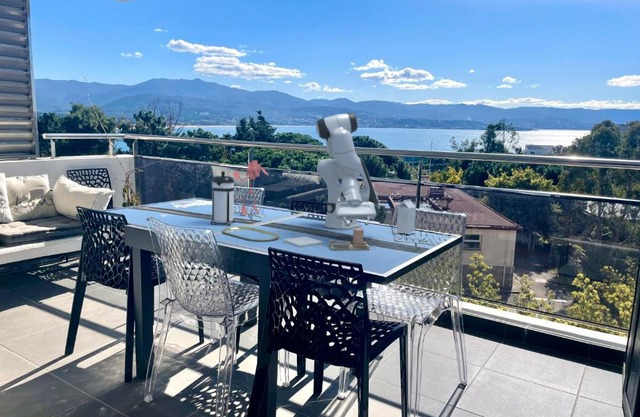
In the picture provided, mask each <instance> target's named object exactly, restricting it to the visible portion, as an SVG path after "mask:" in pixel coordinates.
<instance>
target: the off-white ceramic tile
mask: <svg viewBox="0 0 640 417" xmlns="http://www.w3.org/2000/svg"><path fill="white" fill-rule="evenodd" d="M282 241H283V242H284V243H286V244H290V245H293V246H296V247H298V248H304V247H309V246H310V247H311V246H317V245H323V244H324V241H322V240H318V239H315V238H312V237H309V236H300V237H292V238H285V239H282Z"/></svg>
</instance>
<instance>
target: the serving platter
mask: <svg viewBox="0 0 640 417" xmlns="http://www.w3.org/2000/svg"><path fill="white" fill-rule="evenodd" d="M233 229H237V230H243V229H244V230H246V231H252V232H256V233H260V234H264V235H268V236H273V237H275V238H267V239H266V238H265V239H263V238H262V239H257V238H249V237H248V238H247V237H245V236H241V235H237V234H234V233H230V232H228V231H227V230H229V231H234V230H233ZM225 231H226V232H225ZM222 232H223V233H224V234H226V235H227V234H228V236H231V235H232V237H235V236H236V237H235V238H238V237H239V239H242V238H243V240H246V239H247V240H246V241H250V240H252V242H272V240H273V241H276V240H277V239H279V238H280V235H279V233H275V232H271V231H267V230H262V229H258V228H255V227H250V226H249V227H248V226H231V227H226V228H225V227H224V228H223V229H222Z"/></svg>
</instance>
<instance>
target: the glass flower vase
mask: <svg viewBox="0 0 640 417" xmlns="http://www.w3.org/2000/svg"><path fill="white" fill-rule="evenodd" d="M247 166H248V167H247V168H246V173H245V176H247V177H245V178H243V179H242V178H241V175H240V172H239V171H238V170H234V171H233V179H235V180H236V181H238V180H239V179H240V181H241V182H242V181H244V180H247V179H249V180H248V181H249V183H250V189H249V190H248V193H247V194H244V195H243V196H242V203H243V204H242V206H241V208H240V211H241V212H240V216H241V215H243V216H246V215H247V212H248V210H247V207H246V206H245V201H244V200H245V199H244V197H245V196H247V195H249V194H250V195H253V196H254V197H253V198H254V202H253V203H254V204H252V205H253V206H252V210H251V212H250V214H252V213H253V211H255V212H256V213H257V214H260V213H259V210H258V207H257V206H256V195H255V193H254V190H253V189H252V181H251V180H254V181H255V180H256V178H258V177H260V172H261V171H262V172H263V174H264V175H266V176H268V177H269V173H268V172H267V171H266V170H265V169H264V168H263V167H261V164H260V163H258V160H252V161H250V162H248V163H247ZM266 216H268V214H266V215H264V216H262V218H265V217H266Z"/></svg>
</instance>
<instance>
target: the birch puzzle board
mask: <svg viewBox="0 0 640 417" xmlns="http://www.w3.org/2000/svg"><path fill="white" fill-rule="evenodd" d="M327 243H328V244H327V246H328V247H329V249H330V251H370V245H369V244H368V243H367V242H366V241H363V245H353V241H347V240H328V242H327Z"/></svg>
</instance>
